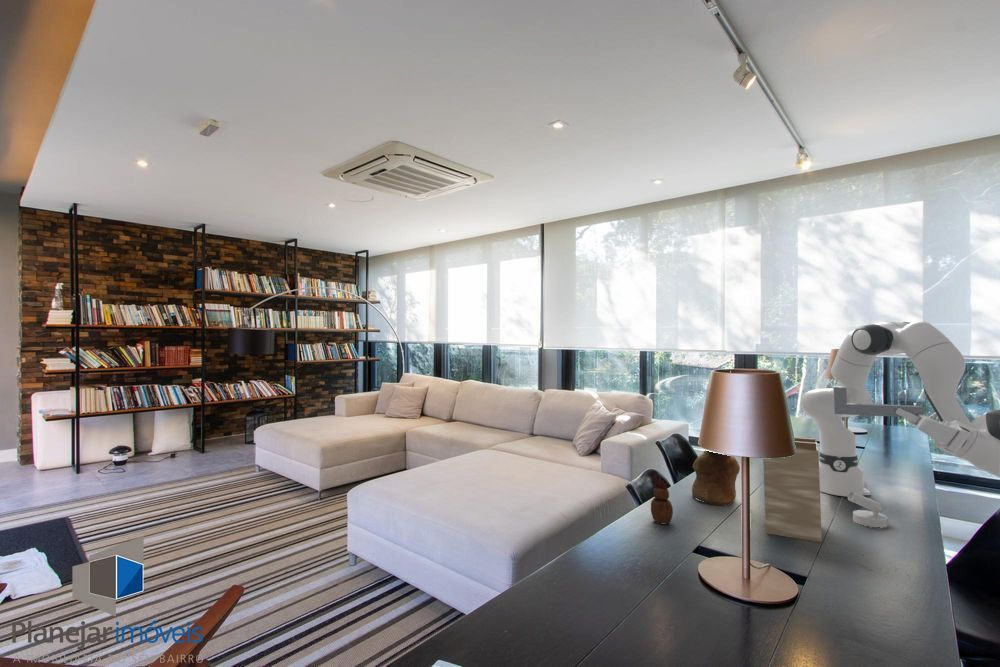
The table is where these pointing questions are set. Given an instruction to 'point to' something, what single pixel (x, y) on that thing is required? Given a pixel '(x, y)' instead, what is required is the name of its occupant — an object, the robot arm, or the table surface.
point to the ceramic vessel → (715, 478)
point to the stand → (794, 493)
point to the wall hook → (868, 512)
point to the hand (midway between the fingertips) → (895, 409)
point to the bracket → (868, 406)
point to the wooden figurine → (661, 503)
